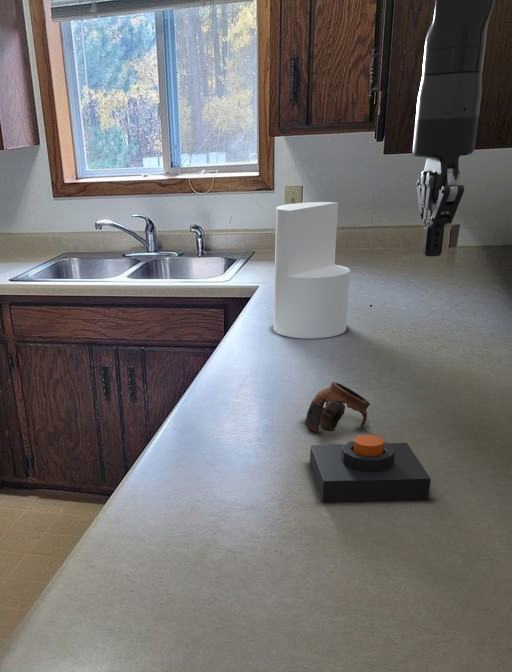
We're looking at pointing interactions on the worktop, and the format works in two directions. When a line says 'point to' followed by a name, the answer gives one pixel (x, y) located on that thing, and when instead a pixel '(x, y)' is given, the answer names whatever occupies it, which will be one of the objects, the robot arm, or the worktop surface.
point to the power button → (368, 445)
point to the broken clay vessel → (334, 407)
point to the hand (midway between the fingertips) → (431, 255)
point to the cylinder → (309, 272)
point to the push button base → (368, 474)
